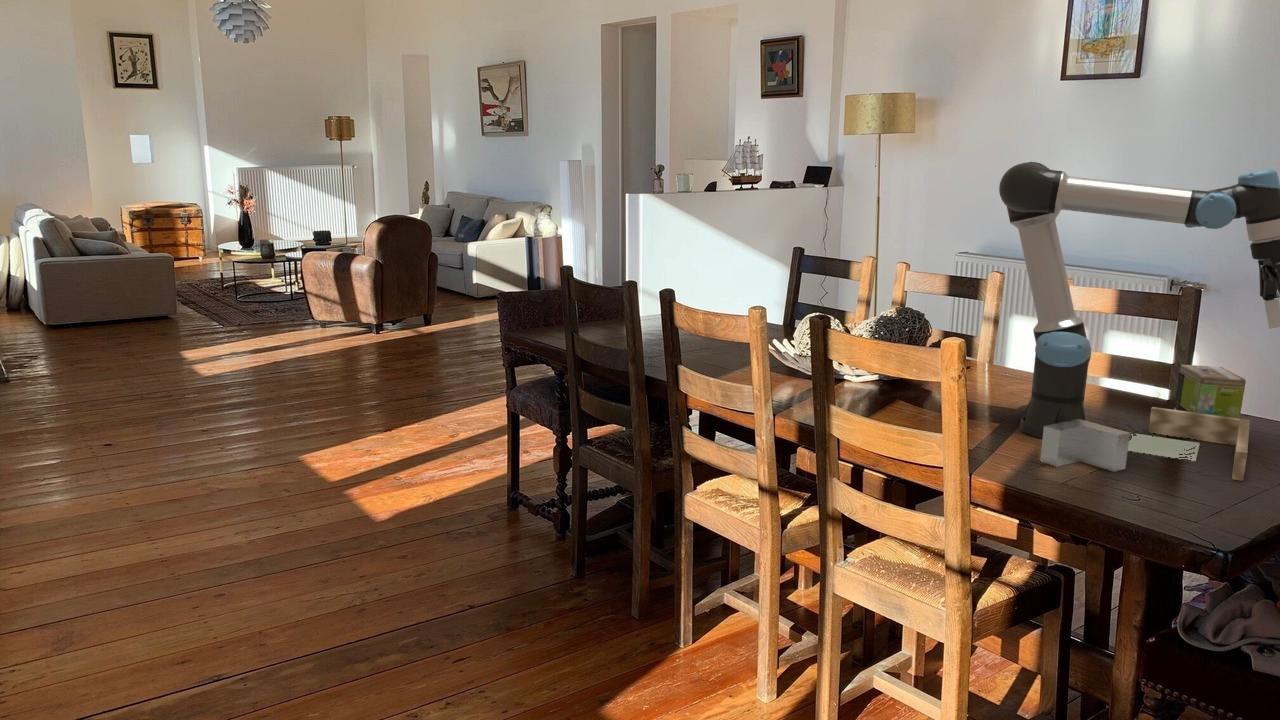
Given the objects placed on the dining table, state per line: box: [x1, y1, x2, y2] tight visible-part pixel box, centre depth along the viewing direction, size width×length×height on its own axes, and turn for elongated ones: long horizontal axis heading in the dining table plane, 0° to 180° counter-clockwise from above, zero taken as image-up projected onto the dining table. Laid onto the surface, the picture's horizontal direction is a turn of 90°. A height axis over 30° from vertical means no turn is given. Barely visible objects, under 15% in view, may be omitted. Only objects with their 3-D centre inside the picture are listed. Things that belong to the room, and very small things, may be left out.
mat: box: [1128, 433, 1200, 463], centre depth 222 cm, size 16×16×1 cm
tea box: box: [1173, 364, 1247, 419], centre depth 234 cm, size 15×10×15 cm, turn 168°
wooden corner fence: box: [1147, 406, 1251, 482], centre depth 216 cm, size 20×30×6 cm, turn 148°
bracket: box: [1039, 419, 1131, 472], centre depth 207 cm, size 12×12×8 cm
